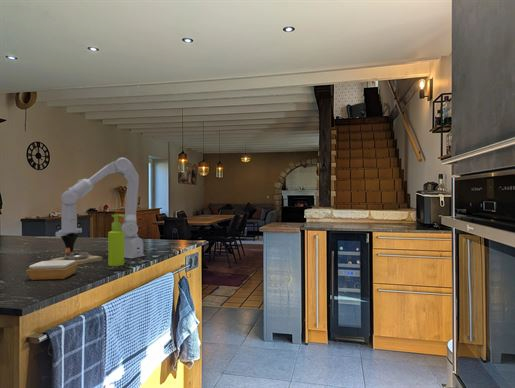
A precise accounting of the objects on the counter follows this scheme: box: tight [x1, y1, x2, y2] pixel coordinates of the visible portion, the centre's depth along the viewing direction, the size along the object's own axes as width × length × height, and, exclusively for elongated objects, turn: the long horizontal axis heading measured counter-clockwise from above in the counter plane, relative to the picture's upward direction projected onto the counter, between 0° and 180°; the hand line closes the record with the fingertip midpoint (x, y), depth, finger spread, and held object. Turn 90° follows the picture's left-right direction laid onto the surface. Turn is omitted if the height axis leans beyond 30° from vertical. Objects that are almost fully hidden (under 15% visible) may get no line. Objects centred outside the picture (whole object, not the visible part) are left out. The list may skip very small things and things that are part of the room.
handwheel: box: [64, 247, 90, 259], centre depth 145 cm, size 9×9×4 cm
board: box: [49, 254, 103, 265], centre depth 145 cm, size 14×14×1 cm
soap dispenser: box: [107, 213, 126, 267], centre depth 138 cm, size 6×7×20 cm
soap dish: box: [25, 260, 79, 281], centre depth 118 cm, size 12×10×5 cm
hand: (69, 251), depth 146 cm, fingers closed, pressing on handwheel
